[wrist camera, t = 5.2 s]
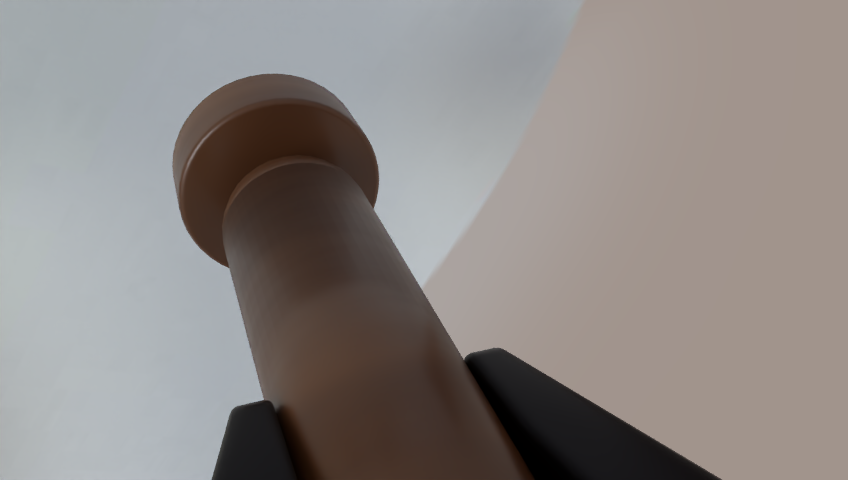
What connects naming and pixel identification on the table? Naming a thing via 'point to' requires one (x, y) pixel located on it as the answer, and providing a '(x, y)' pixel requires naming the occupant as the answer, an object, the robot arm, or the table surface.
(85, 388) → the table surface
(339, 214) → the wooden pestle
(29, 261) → the table surface
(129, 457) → the table surface
